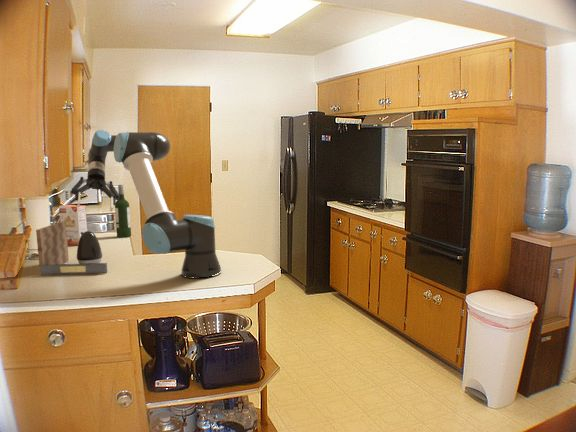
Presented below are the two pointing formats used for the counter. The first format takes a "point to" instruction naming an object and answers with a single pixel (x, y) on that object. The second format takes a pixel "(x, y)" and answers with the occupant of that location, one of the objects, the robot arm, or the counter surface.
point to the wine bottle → (122, 215)
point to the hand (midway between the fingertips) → (95, 207)
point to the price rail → (73, 269)
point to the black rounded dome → (88, 249)
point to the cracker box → (73, 222)
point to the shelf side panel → (52, 244)
